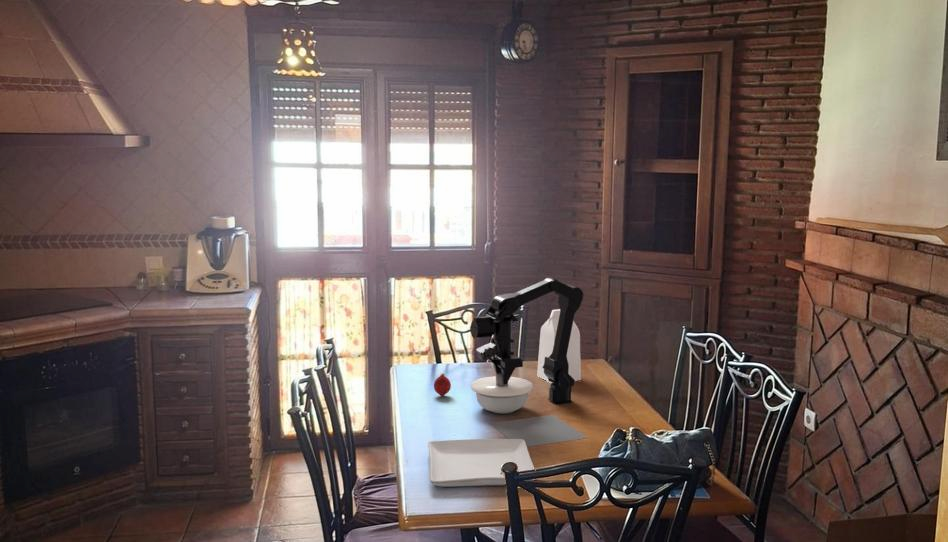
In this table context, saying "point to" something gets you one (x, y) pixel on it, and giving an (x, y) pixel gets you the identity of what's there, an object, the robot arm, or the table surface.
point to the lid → (501, 386)
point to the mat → (538, 430)
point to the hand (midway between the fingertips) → (502, 382)
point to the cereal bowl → (501, 403)
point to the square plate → (475, 461)
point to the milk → (548, 343)
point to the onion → (442, 385)
